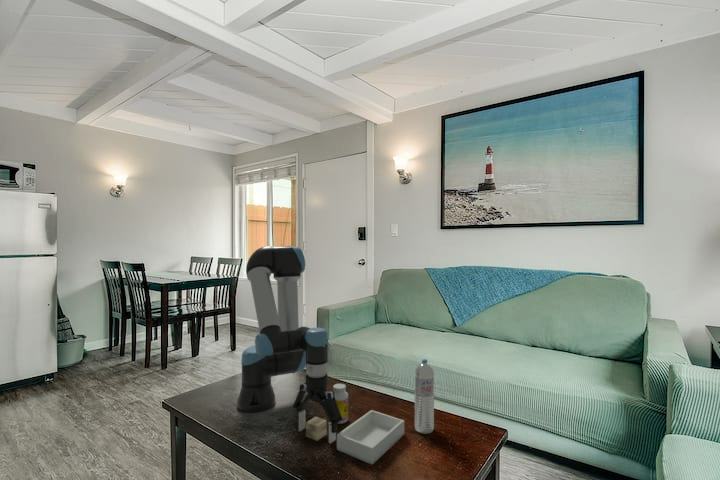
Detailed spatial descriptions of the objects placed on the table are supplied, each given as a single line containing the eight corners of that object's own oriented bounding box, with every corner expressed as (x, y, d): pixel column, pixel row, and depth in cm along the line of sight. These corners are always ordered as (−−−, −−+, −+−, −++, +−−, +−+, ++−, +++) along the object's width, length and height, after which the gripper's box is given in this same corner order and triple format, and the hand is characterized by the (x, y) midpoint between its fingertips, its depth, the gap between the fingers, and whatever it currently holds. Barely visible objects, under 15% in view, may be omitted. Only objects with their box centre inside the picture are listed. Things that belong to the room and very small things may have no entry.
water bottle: (435, 426, 134) (435, 358, 134) (432, 436, 128) (432, 364, 128) (416, 423, 137) (416, 355, 136) (412, 432, 130) (413, 361, 130)
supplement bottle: (345, 425, 135) (345, 390, 135) (328, 423, 136) (328, 388, 136) (349, 416, 141) (350, 383, 141) (333, 414, 143) (333, 381, 143)
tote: (336, 449, 119) (336, 434, 119) (371, 423, 136) (371, 409, 136) (372, 464, 112) (372, 448, 112) (404, 434, 129) (404, 420, 129)
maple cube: (306, 436, 127) (306, 422, 127) (315, 430, 132) (315, 416, 131) (317, 441, 125) (317, 426, 125) (326, 434, 129) (326, 420, 129)
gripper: (283, 369, 132) (283, 429, 132) (338, 385, 118) (338, 452, 118) (298, 364, 138) (298, 420, 138) (352, 378, 124) (352, 441, 124)
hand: (316, 435), depth 128 cm, fingers open, 13 cm apart
